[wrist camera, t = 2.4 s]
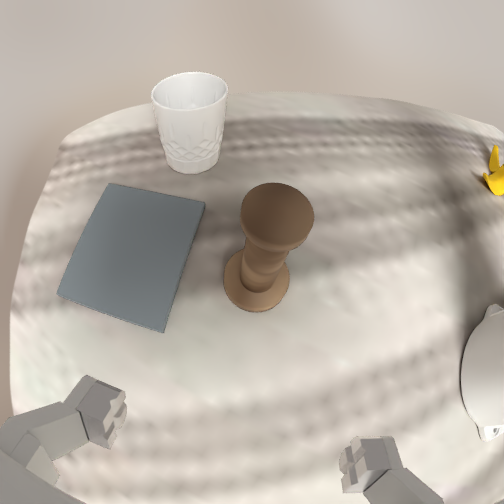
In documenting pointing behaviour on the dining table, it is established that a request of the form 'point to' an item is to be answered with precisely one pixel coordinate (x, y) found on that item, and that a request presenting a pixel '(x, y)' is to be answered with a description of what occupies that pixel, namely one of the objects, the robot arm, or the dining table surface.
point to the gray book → (132, 255)
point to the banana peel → (495, 174)
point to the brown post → (267, 245)
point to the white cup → (190, 119)
